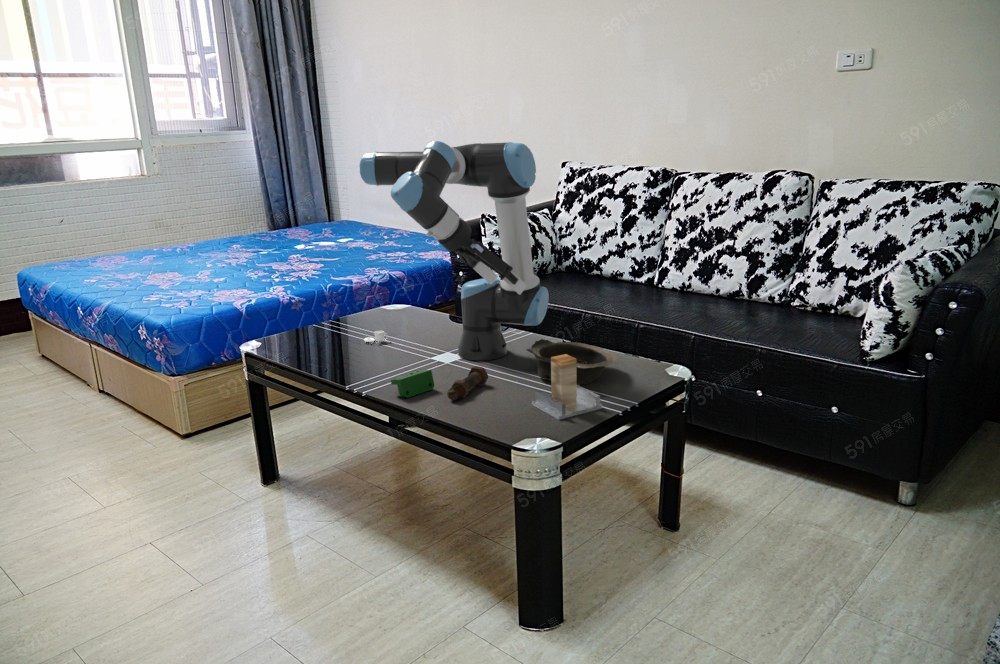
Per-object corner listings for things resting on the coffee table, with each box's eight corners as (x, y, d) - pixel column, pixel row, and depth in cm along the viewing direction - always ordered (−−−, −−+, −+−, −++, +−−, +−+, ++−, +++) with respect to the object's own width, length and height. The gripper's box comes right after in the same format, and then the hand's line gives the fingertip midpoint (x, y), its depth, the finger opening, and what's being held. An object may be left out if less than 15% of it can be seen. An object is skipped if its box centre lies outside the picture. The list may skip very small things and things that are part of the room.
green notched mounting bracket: (420, 401, 206) (423, 371, 208) (432, 401, 202) (435, 370, 204) (386, 396, 199) (390, 364, 201) (398, 396, 195) (402, 364, 197)
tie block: (551, 402, 189) (550, 357, 185) (566, 398, 191) (565, 354, 187) (561, 408, 185) (561, 362, 181) (576, 404, 187) (576, 358, 184)
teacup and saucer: (360, 344, 247) (359, 333, 246) (376, 338, 254) (375, 327, 253) (381, 348, 243) (380, 336, 242) (396, 342, 249) (396, 330, 248)
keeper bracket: (532, 404, 190) (531, 391, 189) (574, 394, 196) (574, 381, 195) (558, 419, 180) (558, 406, 179) (602, 408, 186) (602, 395, 185)
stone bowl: (510, 379, 209) (510, 347, 207) (563, 362, 227) (564, 332, 225) (583, 396, 193) (584, 362, 191) (633, 377, 211) (635, 345, 209)
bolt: (450, 408, 195) (478, 387, 208) (464, 401, 192) (491, 381, 205) (439, 388, 195) (467, 369, 207) (453, 382, 192) (481, 362, 205)
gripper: (416, 235, 178) (474, 288, 190) (463, 249, 158) (526, 307, 169) (435, 210, 180) (491, 264, 191) (485, 221, 159) (545, 281, 170)
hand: (508, 285), depth 180 cm, fingers open, 13 cm apart
